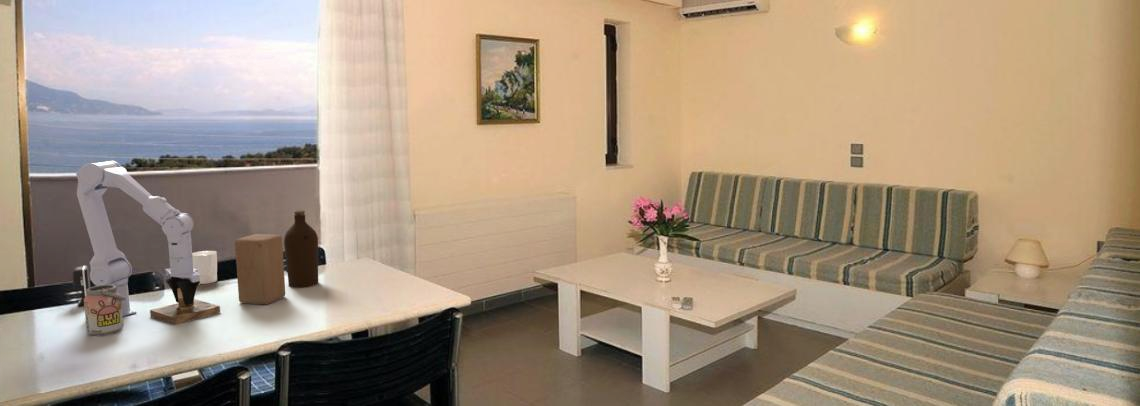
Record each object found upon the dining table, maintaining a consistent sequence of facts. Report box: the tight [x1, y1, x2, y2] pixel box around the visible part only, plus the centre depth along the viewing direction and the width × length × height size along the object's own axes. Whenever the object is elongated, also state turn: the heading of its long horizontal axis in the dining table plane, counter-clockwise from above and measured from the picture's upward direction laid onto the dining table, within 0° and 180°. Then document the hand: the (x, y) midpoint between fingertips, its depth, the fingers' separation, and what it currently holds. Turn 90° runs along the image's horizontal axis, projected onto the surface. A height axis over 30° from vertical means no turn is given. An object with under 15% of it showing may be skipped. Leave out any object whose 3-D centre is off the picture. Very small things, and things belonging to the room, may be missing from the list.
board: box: [149, 298, 221, 325], centre depth 198 cm, size 13×13×2 cm
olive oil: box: [283, 209, 319, 289], centre depth 230 cm, size 11×11×25 cm
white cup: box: [192, 250, 218, 285], centre depth 234 cm, size 8×8×10 cm
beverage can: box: [84, 285, 126, 337], centre depth 183 cm, size 9×8×12 cm
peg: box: [177, 288, 194, 310], centre depth 197 cm, size 4×4×7 cm
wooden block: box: [234, 233, 286, 305], centre depth 211 cm, size 10×10×20 cm
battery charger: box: [72, 265, 91, 307], centre depth 208 cm, size 7×4×11 cm, turn 32°
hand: (184, 303), depth 197 cm, fingers closed on peg, 4 cm apart
